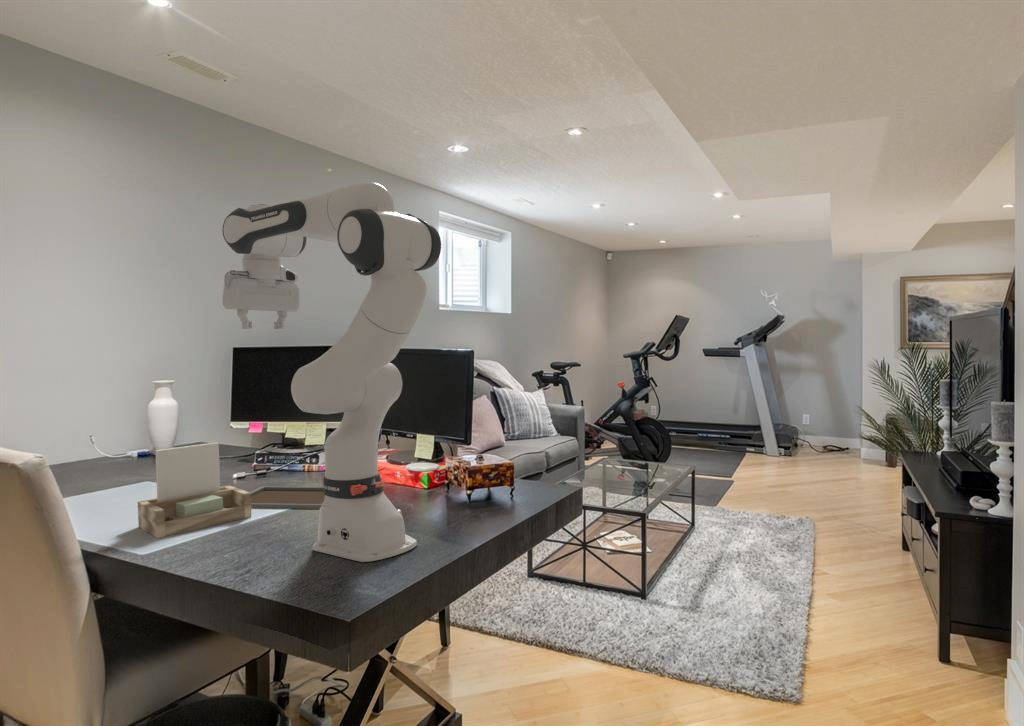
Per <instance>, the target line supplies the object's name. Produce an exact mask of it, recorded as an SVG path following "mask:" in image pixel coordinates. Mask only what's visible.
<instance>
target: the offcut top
mask: <svg viewBox="0 0 1024 726" xmlns="http://www.w3.org/2000/svg"><path fill="white" fill-rule="evenodd" d="M218 510H223V498H222V497H219V496H215V495H211V496H206V497H202V498H197V499H192V500H188V501H183V502H179V503H176V516H178V517H181V518H185V517H189V516H194V515H199V514H204V513H208V512H213V511H218Z"/></svg>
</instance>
